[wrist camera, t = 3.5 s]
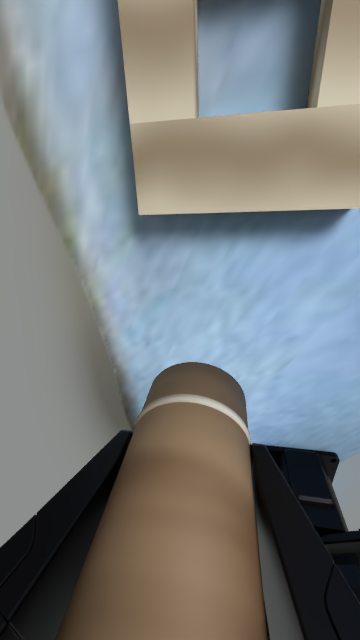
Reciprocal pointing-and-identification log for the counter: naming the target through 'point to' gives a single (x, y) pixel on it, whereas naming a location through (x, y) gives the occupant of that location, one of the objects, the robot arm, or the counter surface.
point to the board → (239, 122)
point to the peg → (177, 523)
